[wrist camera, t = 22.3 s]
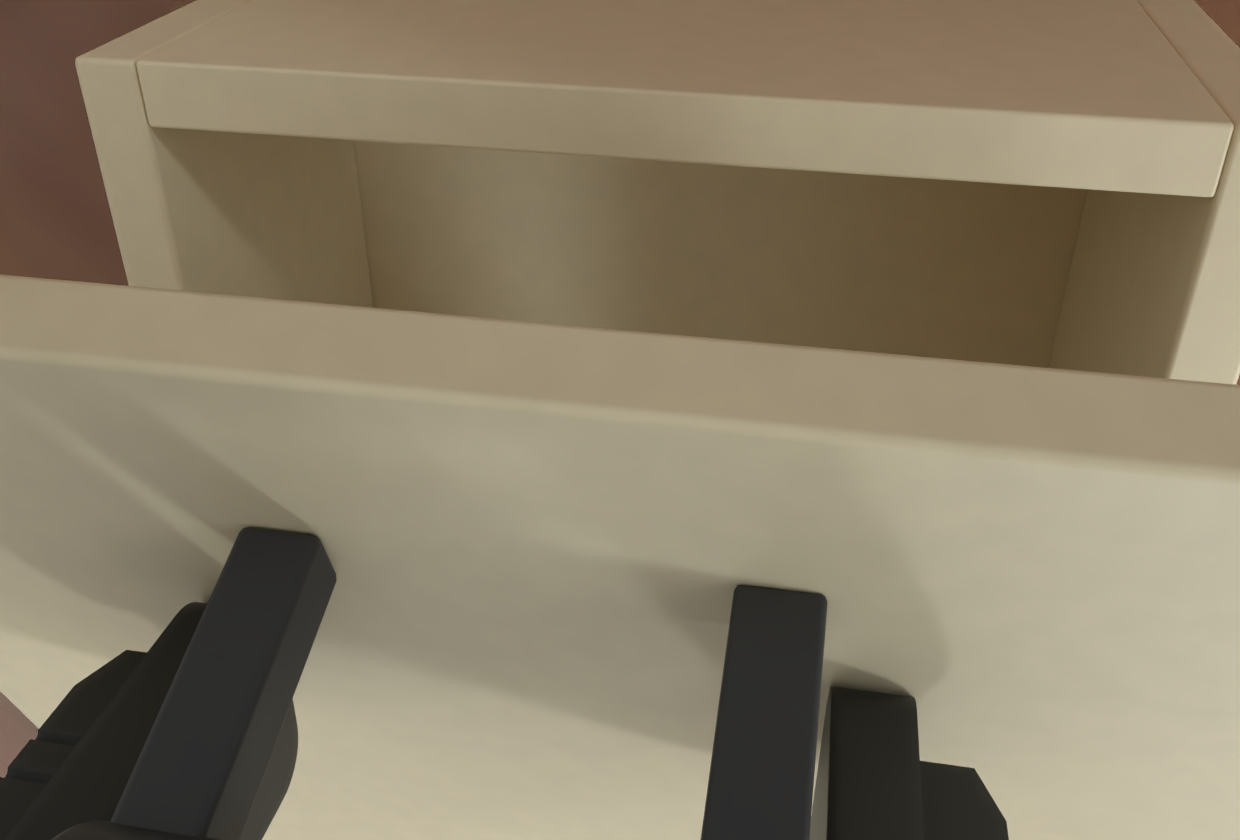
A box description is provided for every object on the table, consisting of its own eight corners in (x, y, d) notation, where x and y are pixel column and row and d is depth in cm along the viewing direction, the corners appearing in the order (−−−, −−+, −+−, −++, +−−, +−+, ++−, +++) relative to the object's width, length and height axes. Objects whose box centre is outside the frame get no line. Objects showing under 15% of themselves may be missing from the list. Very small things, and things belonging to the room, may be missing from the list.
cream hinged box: (305, -54, 19) (70, 57, 14) (1178, -19, 17) (1322, 129, 12) (398, 650, 28) (275, 899, 22) (996, 731, 26) (1028, 1028, 20)
